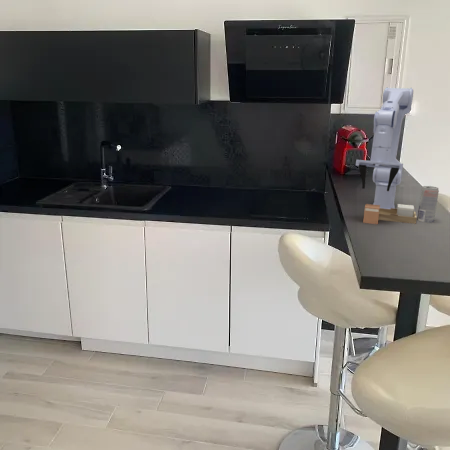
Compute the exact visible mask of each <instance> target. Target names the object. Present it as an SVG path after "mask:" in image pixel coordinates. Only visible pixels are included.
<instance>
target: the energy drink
mask: <svg viewBox="0 0 450 450" xmlns="http://www.w3.org/2000/svg"><path fill="white" fill-rule="evenodd" d="M439 192H440V191H439V187H436V186H431V185H424V186H422V187H421V190H420V197H419V203H418V211H417V216H416V217H417V219H416V221H418V222H421V223H427V224H428V223H429V224H430V223H431V224H432V223H434V222H435V217H436V210H437V205H438V199H439Z"/></svg>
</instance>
